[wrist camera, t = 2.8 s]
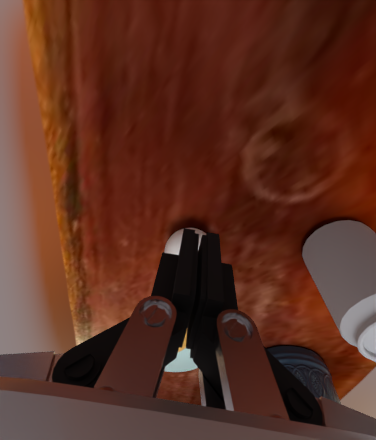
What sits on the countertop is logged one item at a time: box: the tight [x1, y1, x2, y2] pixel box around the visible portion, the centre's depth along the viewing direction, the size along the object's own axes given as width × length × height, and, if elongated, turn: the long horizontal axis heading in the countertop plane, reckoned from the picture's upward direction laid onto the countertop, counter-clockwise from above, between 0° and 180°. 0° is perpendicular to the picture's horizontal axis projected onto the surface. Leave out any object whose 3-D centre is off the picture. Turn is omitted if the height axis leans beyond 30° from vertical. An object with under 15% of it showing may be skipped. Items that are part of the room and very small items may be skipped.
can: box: [302, 220, 376, 362], centre depth 22 cm, size 8×8×12 cm
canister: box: [267, 346, 341, 404], centre depth 33 cm, size 13×13×18 cm
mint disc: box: [164, 348, 198, 372], centre depth 40 cm, size 14×14×1 cm
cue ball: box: [164, 228, 207, 255], centre depth 26 cm, size 6×6×6 cm
